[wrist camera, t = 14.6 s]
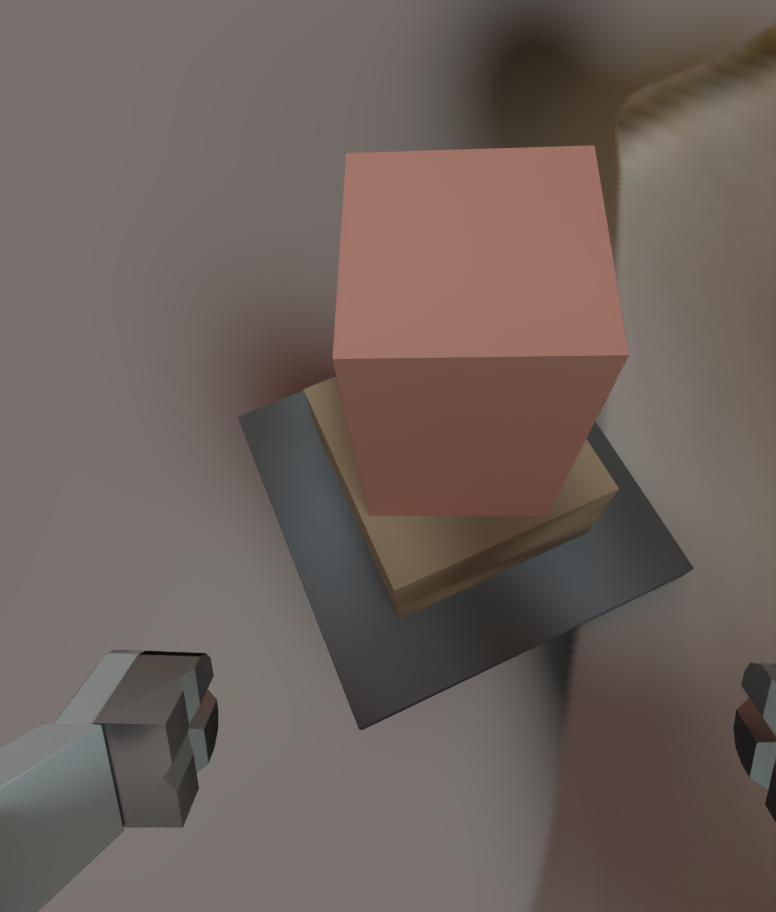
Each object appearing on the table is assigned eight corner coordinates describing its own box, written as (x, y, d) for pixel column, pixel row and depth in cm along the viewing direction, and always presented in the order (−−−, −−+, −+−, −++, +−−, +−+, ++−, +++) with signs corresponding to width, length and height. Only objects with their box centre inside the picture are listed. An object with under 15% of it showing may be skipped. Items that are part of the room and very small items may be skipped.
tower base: (513, 319, 27) (531, 231, 22) (682, 575, 22) (748, 529, 18) (244, 428, 25) (205, 358, 21) (362, 730, 21) (343, 723, 16)
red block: (533, 364, 20) (594, 145, 13) (547, 515, 18) (628, 355, 11) (374, 366, 20) (346, 153, 13) (369, 515, 18) (332, 358, 11)
